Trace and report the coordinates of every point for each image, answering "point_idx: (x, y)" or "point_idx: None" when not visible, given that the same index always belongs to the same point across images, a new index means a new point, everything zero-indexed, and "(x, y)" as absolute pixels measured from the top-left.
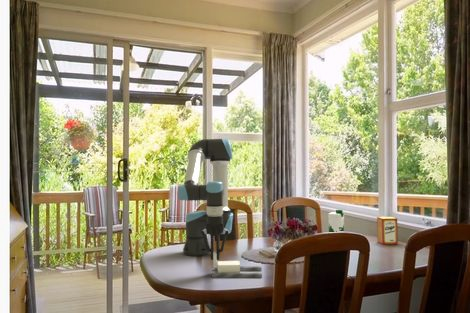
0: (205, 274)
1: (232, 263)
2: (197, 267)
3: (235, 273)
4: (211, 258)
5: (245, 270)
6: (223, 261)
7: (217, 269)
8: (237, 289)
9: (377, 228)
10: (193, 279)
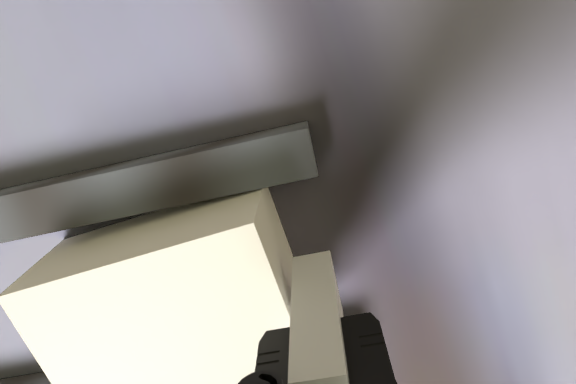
0: (405, 200)
1: (107, 331)
2: (540, 375)
3: (69, 204)
4: (372, 326)
5: None
6: None
7: None
8: None
9: None
10: (493, 4)
